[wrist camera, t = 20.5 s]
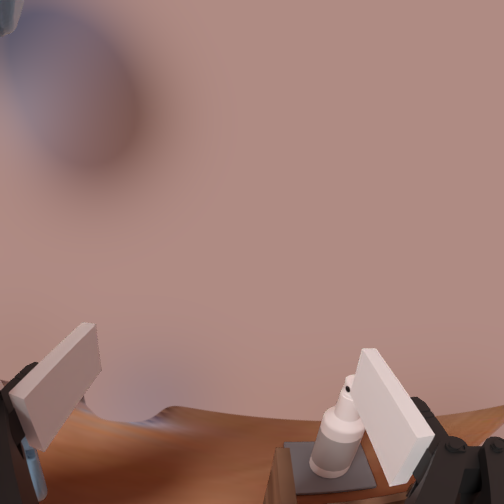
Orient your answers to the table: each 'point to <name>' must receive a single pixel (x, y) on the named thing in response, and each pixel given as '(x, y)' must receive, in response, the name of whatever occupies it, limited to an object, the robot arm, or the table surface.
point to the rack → (283, 487)
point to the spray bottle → (337, 436)
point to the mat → (314, 484)
